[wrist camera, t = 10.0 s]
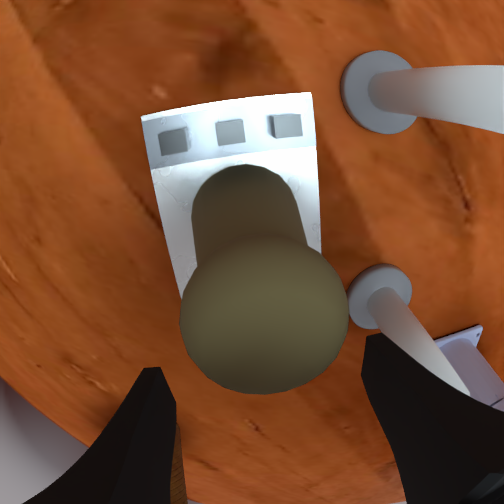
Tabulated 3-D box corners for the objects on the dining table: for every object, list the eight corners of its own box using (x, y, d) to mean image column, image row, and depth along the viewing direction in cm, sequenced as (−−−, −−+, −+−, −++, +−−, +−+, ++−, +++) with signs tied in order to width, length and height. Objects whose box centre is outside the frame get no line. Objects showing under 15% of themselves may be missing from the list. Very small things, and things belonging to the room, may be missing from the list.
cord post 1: (415, 132, 17) (553, 177, 8) (343, 133, 17) (471, 179, 7) (409, 55, 15) (550, 47, 5) (335, 50, 15) (461, 9, 5)
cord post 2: (401, 313, 24) (470, 417, 14) (343, 326, 24) (399, 446, 14) (409, 258, 21) (501, 358, 12) (346, 269, 21) (423, 391, 11)
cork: (293, 264, 20) (351, 410, 10) (193, 264, 19) (172, 420, 9) (302, 165, 17) (402, 254, 7) (189, 163, 17) (142, 255, 7)
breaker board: (318, 305, 22) (335, 342, 19) (191, 324, 22) (187, 364, 19) (306, 93, 16) (329, 90, 13) (144, 115, 16) (123, 119, 12)
